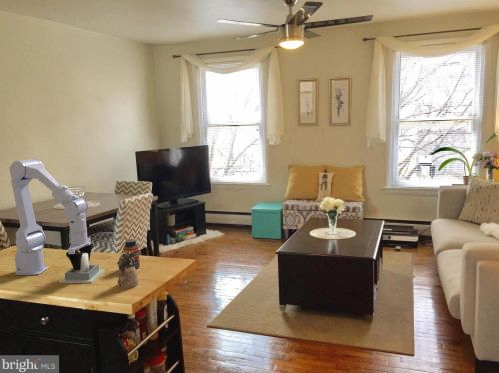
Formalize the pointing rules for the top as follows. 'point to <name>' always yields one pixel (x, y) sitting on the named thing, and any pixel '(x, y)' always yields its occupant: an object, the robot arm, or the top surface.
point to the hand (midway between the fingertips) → (81, 266)
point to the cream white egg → (84, 263)
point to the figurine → (127, 271)
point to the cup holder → (82, 275)
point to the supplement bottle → (134, 248)
